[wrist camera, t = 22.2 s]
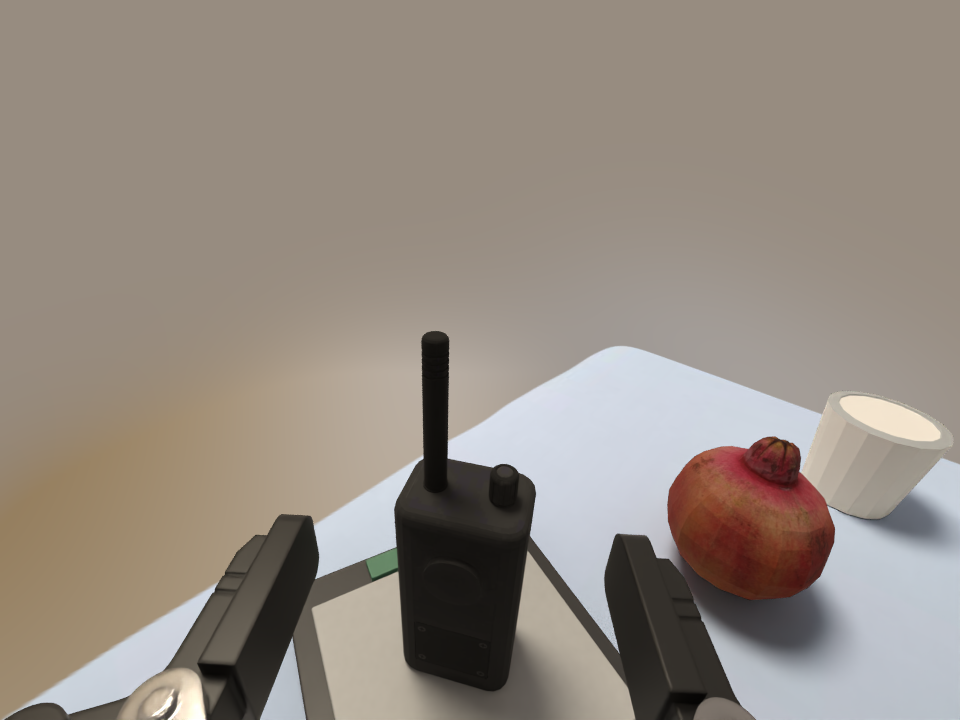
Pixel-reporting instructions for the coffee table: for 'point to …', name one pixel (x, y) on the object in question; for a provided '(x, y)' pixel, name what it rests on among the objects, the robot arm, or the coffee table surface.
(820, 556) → the fruit
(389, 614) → the scale
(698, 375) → the coffee table surface
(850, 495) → the white candle
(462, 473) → the walkie-talkie
